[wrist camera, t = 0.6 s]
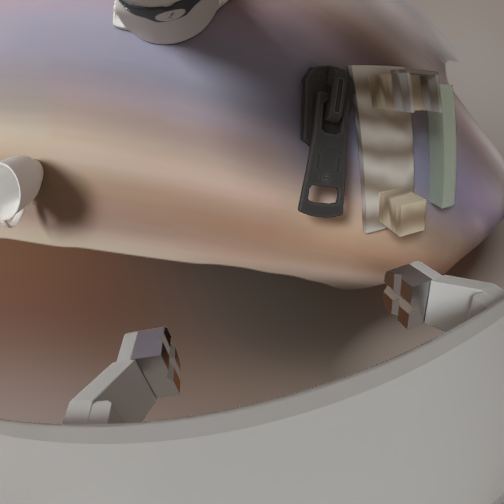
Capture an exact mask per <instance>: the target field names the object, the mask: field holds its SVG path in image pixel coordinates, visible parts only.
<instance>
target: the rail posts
mask: <svg viewBox="0 0 504 504" xmlns="http://www.w3.org/2000/svg"><path fill="white" fill-rule="evenodd" d="M347 67H348V72H349V75H350V76H351V77H352V79H353V83H354V87H355V96H354V100H353V105H354V112H355V120H356V129H357V138H358V149H359V160H360V174H361V191H362V218H363V231H364V232H365V233H370V232H374V231H378V230H381V229H385V228H389V229H390V230H392V231H393V232H394V233H396V234H397V235H398V236H399V237H402V236H405V235H408V234H412V233H415V232H419V231H422V230H424V227H425V214H426V199H424V198H422V197H420V196H418V195H416V194H414V155H413V133H412V119H411V113H415V111H414V110H426V111H433V112H439V113H442V105H441V94H440V85H439V77H438V72H434V71H426V70H416V69H406V68H405V67H397V66H377V65H350V66H347Z"/></svg>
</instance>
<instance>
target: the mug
mask: <svg viewBox="0 0 504 504" xmlns="http://www.w3.org/2000/svg"><path fill="white" fill-rule="evenodd" d="M43 175H44V171H43V167H42V165H41V163H40V162H39V161H38V160H35V159H33V158H31V157H28V156H25V155H18V156H14V157H10V158H7V159H4V160H2V161H0V220H1V223H2V224H3V226H5V227H8V228H12V227H14V226H16V225H17V224H18V222H19V221H20V219H21V217H22V215H23V213H24V210H25V207H26V206H27V205H28V204H30V203H31V202H32V201H33V200H34V198H35V197H36V196H37V194H38V192H39V189H40V186H41V183H42V180H43ZM14 215H15V217H14V219H13V220H12V221H11V223H9V224H8V222H7V220H8V219H10V218H12V217H13V216H14Z"/></svg>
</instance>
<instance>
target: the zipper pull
mask: <svg viewBox="0 0 504 504" xmlns="http://www.w3.org/2000/svg"><path fill="white" fill-rule="evenodd" d="M354 96H355V87H354V83H353V79H352V77H351V76H350V75H348V74H347V73H346V71H345V70H343V69H340V68H336V67H332V66H318V67H312V68H310V69H309V70H308V72H307V73H306V75H305V76H304V78H303V80H302V105H301V133H300V134H301V140H302V141H303V142H305V143H306V144H307V145H308V146H310V150H309V155H308V160H307V166H306V171H305V176H304V181H303V186H302V190H301V196H300V201H299V206H298V211H300V212H302V213H304V214H307V215H310V216H315V217H336V216H340V215H342V214H343V204H344V189H345V171H346V147H347V128H348V119H349V115H350V111H351V107H352V103H353V100H354ZM312 185H318V186H326V187H334V188H336V189H337V191H338V192H337V199H336V202H335V203H330V204H327V203H317V202H312V201H309V200H308V194H309V188H310V187H311V186H312Z"/></svg>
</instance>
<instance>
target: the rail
mask: <svg viewBox="0 0 504 504" xmlns="http://www.w3.org/2000/svg"><path fill="white" fill-rule="evenodd" d="M439 85H440V94H441V105H442V113H439V112H433V111H427V114H428V128H429V157H430V176H429V202H431V203H433V204H435V205H437V206H438V207H440V208H446V207H450V206H454V198H455V182H456V120H455V105H454V94H453V86H452V85H446V84H439Z"/></svg>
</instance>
